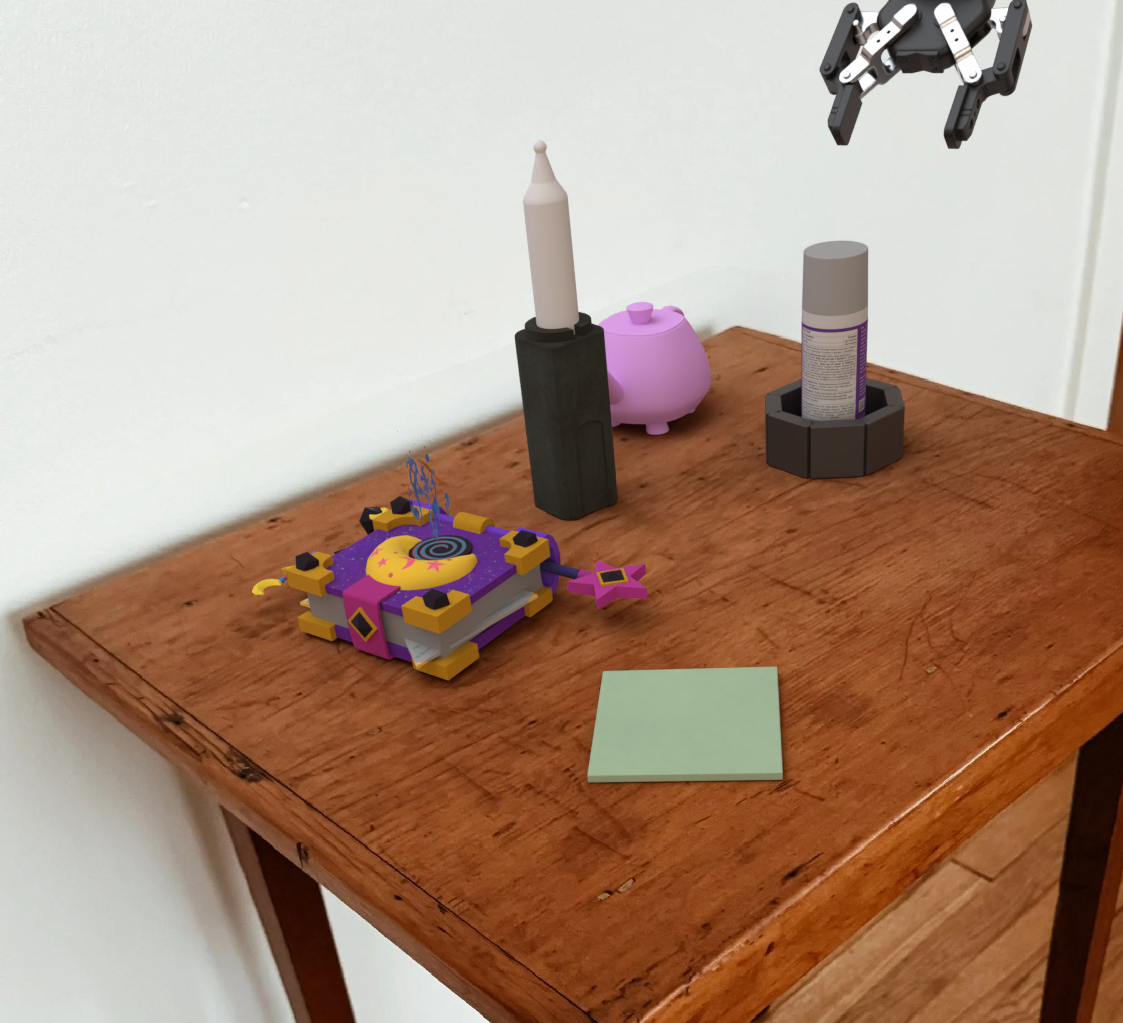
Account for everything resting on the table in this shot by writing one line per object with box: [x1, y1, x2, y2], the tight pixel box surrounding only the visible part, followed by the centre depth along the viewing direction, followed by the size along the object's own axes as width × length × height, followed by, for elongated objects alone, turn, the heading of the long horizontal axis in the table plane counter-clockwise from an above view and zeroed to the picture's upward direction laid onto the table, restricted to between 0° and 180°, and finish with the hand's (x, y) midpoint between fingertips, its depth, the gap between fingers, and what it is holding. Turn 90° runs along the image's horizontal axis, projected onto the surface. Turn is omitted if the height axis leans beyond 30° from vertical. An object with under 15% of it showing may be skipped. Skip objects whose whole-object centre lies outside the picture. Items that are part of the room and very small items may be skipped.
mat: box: [586, 666, 784, 783], centre depth 71 cm, size 10×10×1 cm
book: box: [251, 430, 648, 681], centre depth 80 cm, size 14×25×12 cm, turn 54°
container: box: [800, 240, 869, 421], centre depth 95 cm, size 5×5×15 cm
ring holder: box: [764, 377, 906, 480], centre depth 98 cm, size 10×10×4 cm
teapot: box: [597, 301, 712, 436], centre depth 105 cm, size 10×15×9 cm
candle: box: [514, 139, 619, 521], centre depth 89 cm, size 5×5×25 cm
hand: (893, 141), depth 94 cm, fingers open, 8 cm apart
